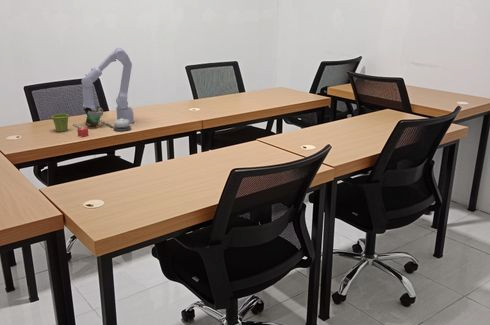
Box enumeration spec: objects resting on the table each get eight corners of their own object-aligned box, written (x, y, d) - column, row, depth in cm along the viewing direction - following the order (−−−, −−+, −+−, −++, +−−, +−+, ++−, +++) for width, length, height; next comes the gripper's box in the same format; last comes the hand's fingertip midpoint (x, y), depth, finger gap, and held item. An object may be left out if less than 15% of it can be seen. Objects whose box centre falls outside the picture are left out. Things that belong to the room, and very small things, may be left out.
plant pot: (64, 133, 279) (63, 118, 276) (49, 132, 281) (47, 117, 278) (73, 128, 288) (72, 114, 285) (58, 127, 289) (57, 113, 287)
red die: (84, 134, 277) (83, 126, 275) (88, 135, 274) (87, 128, 273) (78, 135, 274) (77, 128, 272) (82, 137, 271) (81, 129, 270)
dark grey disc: (126, 126, 294) (126, 124, 293) (133, 129, 286) (133, 127, 286) (110, 128, 288) (110, 126, 288) (117, 132, 281) (117, 130, 280)
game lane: (101, 120, 306) (101, 119, 305) (114, 127, 291) (114, 126, 290) (72, 125, 295) (72, 124, 295) (84, 132, 280) (84, 131, 280)
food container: (93, 130, 287) (97, 115, 283) (83, 125, 288) (88, 110, 283) (103, 124, 299) (107, 109, 294) (94, 119, 299) (98, 105, 295)
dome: (125, 123, 292) (125, 116, 290) (131, 126, 286) (130, 119, 284) (112, 125, 287) (112, 118, 286) (118, 128, 281) (117, 121, 280)
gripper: (77, 96, 294) (79, 118, 298) (86, 100, 283) (88, 123, 287) (88, 94, 298) (91, 116, 302) (97, 99, 287) (99, 121, 291)
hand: (90, 120), depth 295 cm, fingers closed
